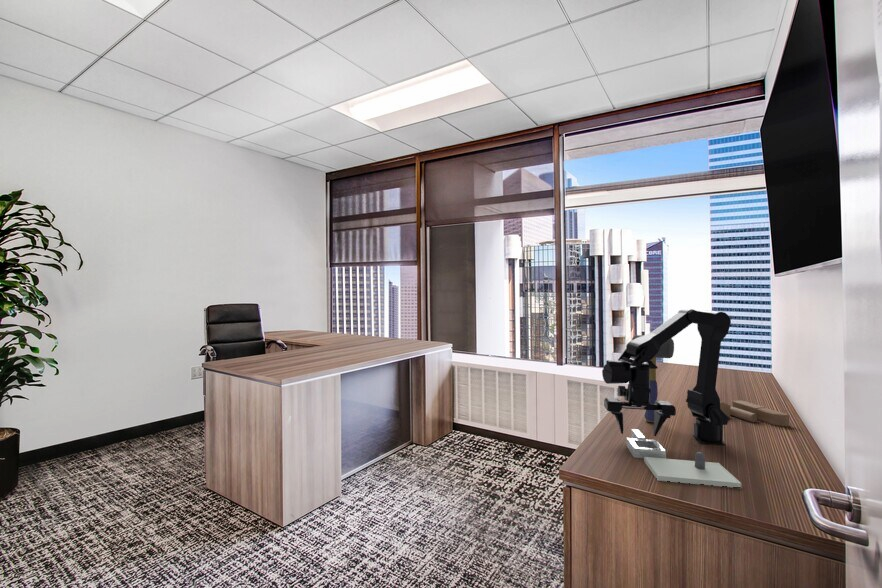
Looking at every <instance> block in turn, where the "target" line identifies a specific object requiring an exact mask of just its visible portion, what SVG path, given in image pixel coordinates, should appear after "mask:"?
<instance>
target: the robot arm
mask: <svg viewBox="0 0 882 588" xmlns="http://www.w3.org/2000/svg"><path fill="white" fill-rule="evenodd" d="M691 324H696V326H697V332H698V333H699V336H700V337H701V340H700V350H699V358H698V359H699V361H698V368H697V375H696V384H695V386H694V387H693V388H692V389H690V388H688V389H687V392H686V393H687V394H686V395H687V396H686V399H685V403H687V408H688V409H689V410H690V412H691V415H692V416H693V417H694V418H695V422H694V423H693V435H692V437H694V438H695V439H696V440H698V441H699V442H700V443H701V444H711V445H726V442H725V441H724V440H723V438H724V437H723V436H724V431H723V430H724V426H727V425H728V423H729V420H730V417H728V416H727V415H726V414H725V413H724V412H723V411H722V410H721V409H720V402H721V398H720V397H719V394H718V391H717V388H716V387H717V380H718V379H717V378H718V370H719V361H720V353H721V344H722V341H723V340H724V339H725V338H726V336H727V335H728V334H729V332H730V331H729V330H730V327H731V324H732V322H731V317H730V316H729V315H728V314H727V312H725V311H724V312H723V311H716V310H715V311H713V310H703V311H700V310H695V309H689V308H682V309H679V310H678V311H677V313H675V314H674V315H672V317H670V318H668V320H666V321H664V323H662V324H660V325H659V326H658V327H657V328H655V329H654V330H652V331H651V332H649V333H648V334H645V335H644V334H643V335H644V336H641V337H638V338H636V339H634V340H630V341H628V342H627V343H626V345H625V349H624V351H623V353H621V355H620V356H619V358H618V359H617V360H611V359H609V360H608V359H607V360H606V361H605V365H603V368H602V370H601V373H602V379H603V381H604V383H605V384H607V385H608V384H609V385H610V384H615V385H616V384H627V388H626V386H625V385H618V386H617V396H618V397H624V401H621V400H620V399H619V398H618V397H605V398H604V400H603V407H604V408H605V409H606V412H610V413H611V414H612V415H613V416H614V417H615V419H616V422H617V425H618V428H619V432H620V434H621V435H623V434H624V414H623V412H622V410H623V409H626V410H628V409H629V410H643V411H646V410H654V416H655V418H654V422H653V429H652V430H653V431H652V433H653V434H652V435H653V436H654V437H657V435H658V433H659V432H660V430H661V428H662V426H663V425H664V423H665V422H666V420H668V419H671V417H673V416H674V417H675V416H676V415H677V414H676V413H677V411H676V409H677V408H676V407H675V406H674V405H673V404H672V403H671V402H670V401H668V400H658V399H657V400H656V401H655V404H650V402H649V399H650V393H651V389H650V369H656V370H657V369H658V366H657V364H656V365H655V364H654V363H653V362H652V361H651V360H652V359H653V358H654V357H655V356H656V355H657V353H658V352H659V350H660V347H661V346H662V345H663V344H664V343H666V342H667V341H668V340H670V339H673V338H674V337H676V336H677V335H679V333H681V332H682V331H683V330H685V329H686V328H688V327H690V326H691Z"/></svg>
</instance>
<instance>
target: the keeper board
mask: <svg viewBox="0 0 882 588" xmlns="http://www.w3.org/2000/svg"><path fill="white" fill-rule="evenodd" d="M643 462H644V464H645V465H646V466H647V467H648V469H649V470H650V472H651V473H652V475H653V476H654V477H655V479H656V478H657V479H656V480H657V481H658V482H659V481H660V482H667V481H670V482H671V483H678V482H680V483H682V484H689V483H690V484H692V485H700V484H704V485H703V486H711V485H713V486H712V487H722V486H727V487H726V488H733V487H741V488H742V482H741V481H739V479H737V478H736V477H735V476H734V475H733V474H732V473H731V472H729V471H728V470H727V469H726V468H725V467H724V466H722V464H721V463H719V462H710V461H706V455H705V454H704V453H703V452H701V451H697V452H695V455H694V460H686V459H673V458H666V459H664V458H652V457H644V458H643ZM670 482H669V483H670ZM680 483H679V484H680Z"/></svg>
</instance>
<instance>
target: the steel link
mask: <svg viewBox="0 0 882 588" xmlns="http://www.w3.org/2000/svg"><path fill="white" fill-rule="evenodd" d="M626 447H627V449H628V450H629V452H630V454H631V455H632V457H633V458H636V459H644V457H652V458H664V459H667V451H666V449H665V448H664V447H663V446H662V445H661V444H660V443H659V441H658V440H657V439H648V438H646V437H645V435H643V433H642V432H641V431H640V429H637V428H636V429H635V428H631V437H626Z"/></svg>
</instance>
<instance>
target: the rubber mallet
mask: <svg viewBox="0 0 882 588" xmlns="http://www.w3.org/2000/svg"><path fill="white" fill-rule="evenodd" d="M641 336H644V334H642V335H641V334H636V335H633V337H632V340H634V339H636V338H638V337H641ZM632 340H631V341H632ZM674 352H675V343H674V339H673V338H671V339H670V340H668V341H667V342H666V343H664V344H663V345H662V346H661V347H660V350H659V352H658V353H657V355H656V356H655V357H654V358H653V359H652V360H651V361H652V362H653V363H654V364H655V365H656V366H657V358H658V359H671V358H673V356H674V354H675V353H674ZM650 389H651V393H650V399H649V402H650V404H655V401H656V400H657V401H658V395H659V392H658V389H659V388H658V383H657V369H650ZM644 418H645V421H646V422H649V423H654V418H655V416H654V410H645V412H644Z"/></svg>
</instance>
